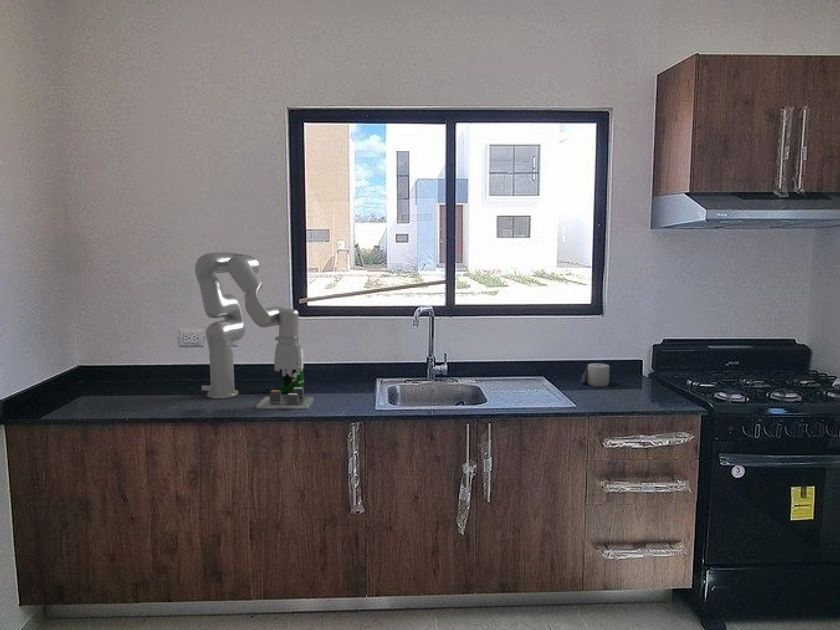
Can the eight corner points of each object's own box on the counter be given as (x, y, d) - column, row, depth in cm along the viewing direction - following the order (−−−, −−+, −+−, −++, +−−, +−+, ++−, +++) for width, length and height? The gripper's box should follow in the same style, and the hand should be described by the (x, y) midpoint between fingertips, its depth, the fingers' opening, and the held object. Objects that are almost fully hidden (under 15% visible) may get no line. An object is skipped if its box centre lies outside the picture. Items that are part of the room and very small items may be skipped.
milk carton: (287, 388, 277) (286, 343, 274) (306, 389, 275) (305, 344, 273) (279, 393, 268) (277, 347, 266) (298, 394, 267) (297, 347, 264)
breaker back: (292, 398, 254) (292, 388, 253) (294, 396, 256) (293, 387, 256) (302, 398, 254) (302, 388, 253) (303, 396, 256) (303, 387, 255)
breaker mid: (270, 401, 249) (269, 391, 249) (271, 399, 251) (271, 390, 251) (280, 401, 249) (279, 391, 249) (281, 399, 251) (281, 390, 251)
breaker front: (287, 404, 244) (286, 394, 244) (288, 403, 246) (288, 393, 246) (297, 404, 244) (297, 394, 244) (298, 403, 246) (298, 393, 246)
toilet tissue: (576, 383, 285) (577, 365, 284) (599, 380, 290) (600, 362, 289) (589, 388, 277) (590, 368, 276) (613, 384, 282) (613, 366, 281)
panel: (256, 408, 244) (256, 404, 244) (265, 399, 257) (265, 396, 257) (307, 408, 244) (307, 405, 243) (313, 400, 257) (313, 396, 256)
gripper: (267, 341, 244) (266, 386, 246) (305, 343, 243) (304, 388, 246) (272, 337, 251) (271, 382, 254) (309, 339, 251) (308, 384, 253)
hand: (287, 385), depth 250 cm, fingers closed
